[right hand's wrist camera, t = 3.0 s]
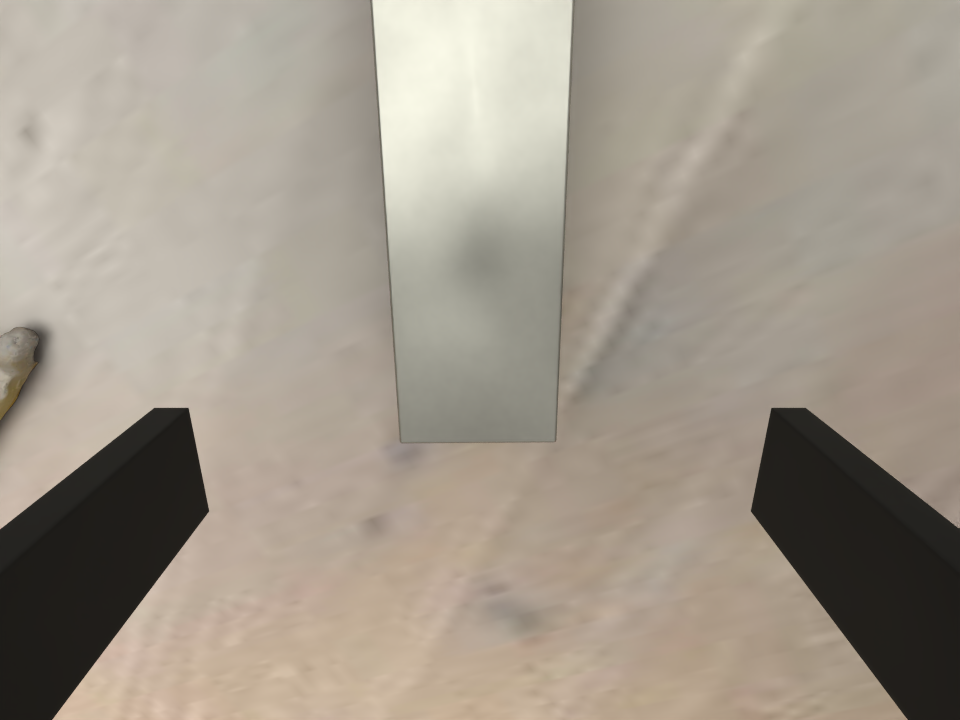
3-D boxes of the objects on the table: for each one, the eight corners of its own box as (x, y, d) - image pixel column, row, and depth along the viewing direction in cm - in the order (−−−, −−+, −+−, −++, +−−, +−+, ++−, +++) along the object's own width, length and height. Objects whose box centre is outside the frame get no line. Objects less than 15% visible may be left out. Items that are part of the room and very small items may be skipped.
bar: (536, 366, 28) (556, 443, 21) (421, 367, 28) (399, 443, 21) (553, -270, 20) (597, -524, 12) (389, -268, 20) (335, -520, 13)
